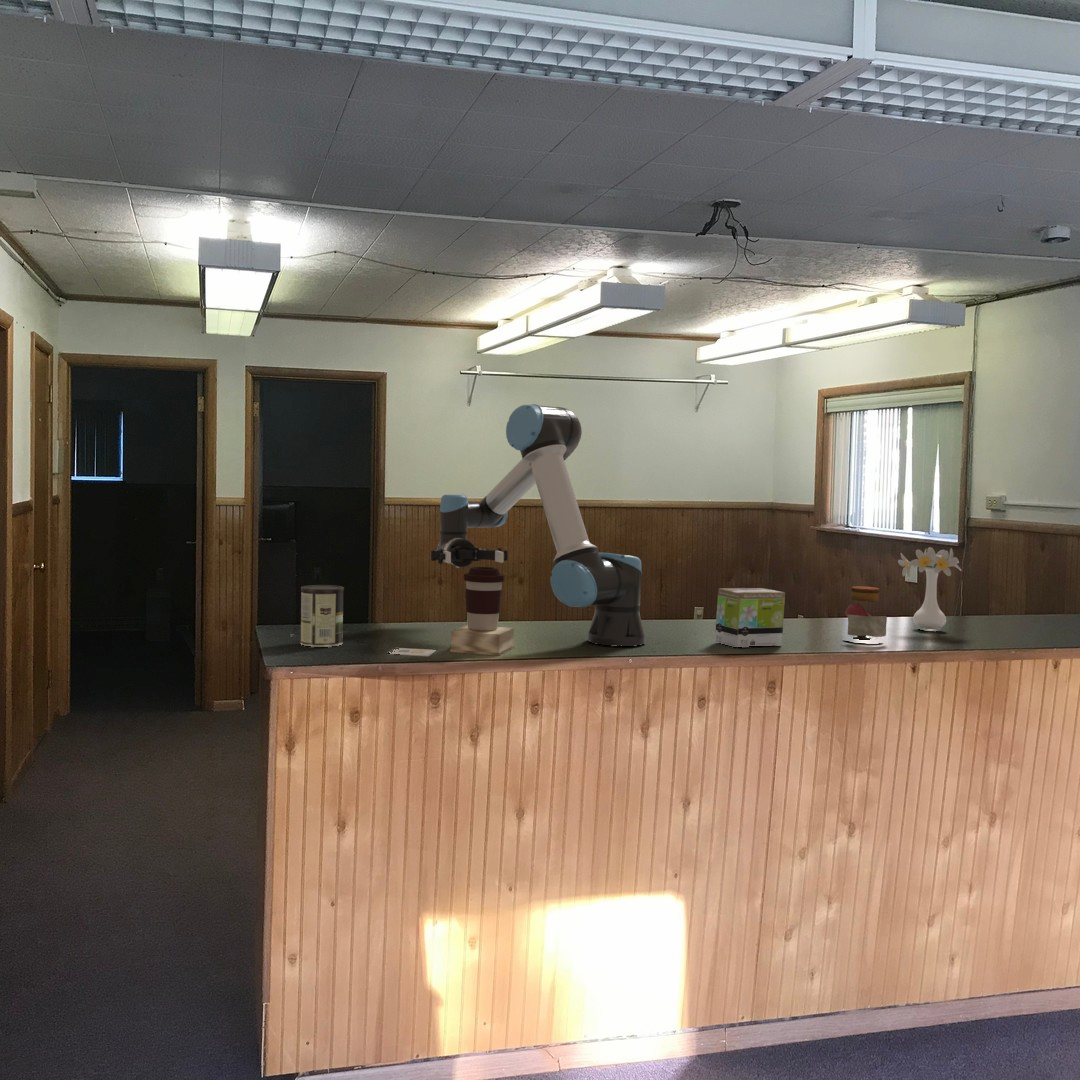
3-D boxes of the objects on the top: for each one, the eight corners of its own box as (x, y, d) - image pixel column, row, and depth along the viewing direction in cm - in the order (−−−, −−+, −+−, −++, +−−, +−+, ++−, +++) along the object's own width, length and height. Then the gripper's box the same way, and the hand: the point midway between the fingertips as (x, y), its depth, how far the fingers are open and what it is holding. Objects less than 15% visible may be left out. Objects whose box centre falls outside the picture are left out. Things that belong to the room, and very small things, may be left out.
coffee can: (326, 639, 270) (327, 583, 269) (351, 645, 263) (352, 587, 262) (291, 643, 263) (292, 586, 262) (316, 649, 256) (317, 590, 255)
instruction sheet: (436, 650, 259) (436, 649, 259) (428, 656, 251) (428, 655, 251) (395, 648, 260) (395, 647, 260) (386, 654, 252) (386, 652, 252)
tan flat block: (514, 647, 267) (514, 627, 267) (499, 655, 255) (499, 634, 255) (466, 644, 270) (467, 624, 270) (449, 651, 258) (450, 631, 258)
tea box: (737, 649, 277) (740, 592, 276) (713, 643, 285) (716, 587, 285) (783, 646, 284) (786, 590, 283) (759, 640, 292) (761, 586, 291)
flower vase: (888, 627, 327) (892, 545, 325) (941, 627, 332) (946, 546, 330) (913, 634, 314) (918, 548, 313) (968, 633, 319) (973, 549, 317)
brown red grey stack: (829, 638, 300) (832, 585, 299) (869, 638, 304) (872, 585, 303) (851, 645, 289) (854, 590, 288) (893, 645, 292) (896, 590, 291)
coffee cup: (487, 633, 256) (489, 570, 255) (453, 629, 261) (455, 567, 260) (510, 629, 264) (512, 568, 263) (477, 625, 269) (479, 565, 268)
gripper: (504, 566, 296) (523, 572, 276) (414, 566, 290) (426, 572, 269) (504, 538, 296) (523, 542, 275) (414, 538, 289) (426, 542, 269)
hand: (475, 557), depth 272 cm, fingers open, 13 cm apart
